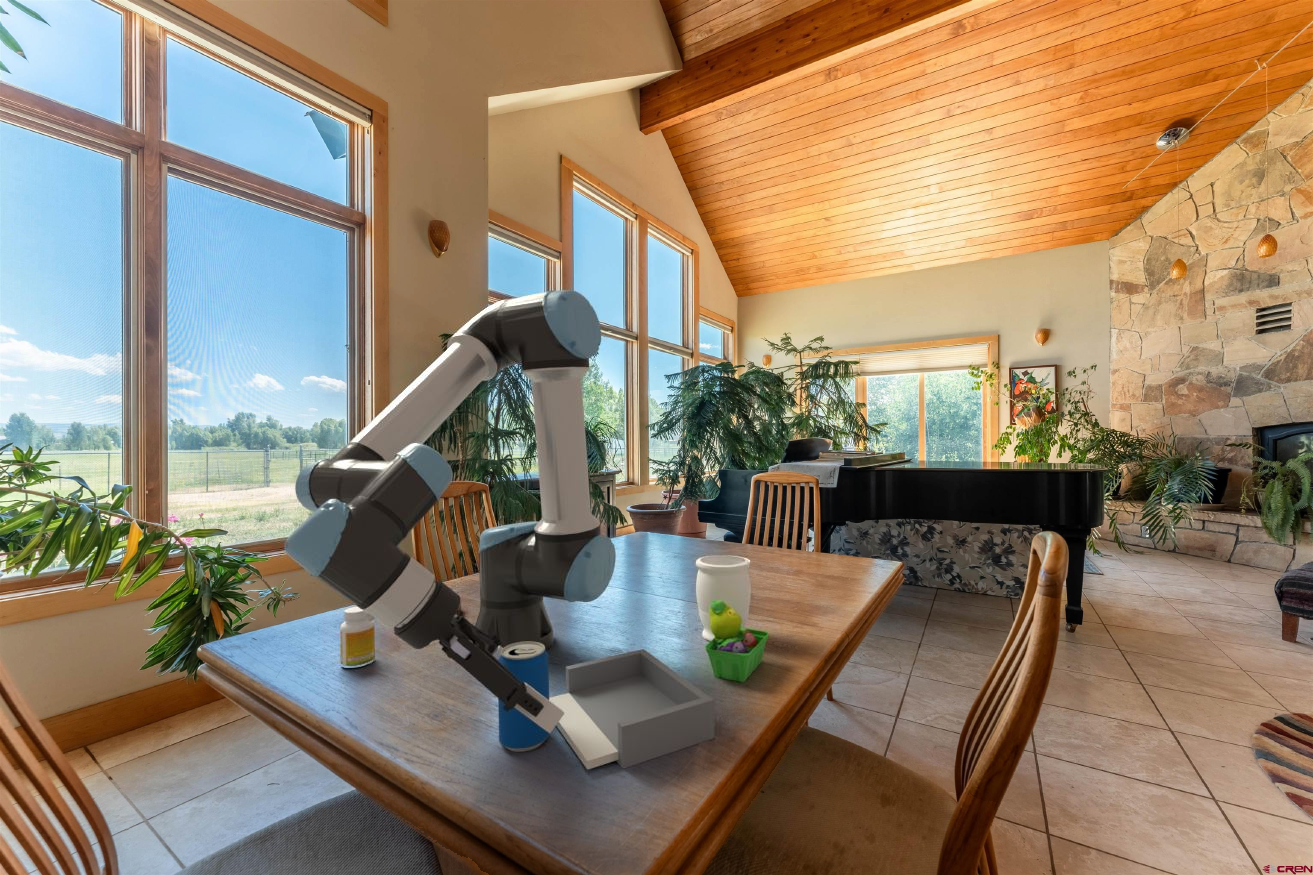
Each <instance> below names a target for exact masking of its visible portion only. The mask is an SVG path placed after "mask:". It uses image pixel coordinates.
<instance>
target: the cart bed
mask: <svg viewBox="0 0 1313 875" xmlns="http://www.w3.org/2000/svg"><path fill="white" fill-rule="evenodd" d="M549 701H550V702H552V703H553V704H554V705H556V706H557V707H558V708H560V709H561V710H562V711H563V712H564V713H565V714H564V715H563V716H562V718H561V719H560V720H559V722H558V723H557V724H556V726H555V727H557V729H558V730H559V731H560V733H561V735H563V737H564V739H565V740H566V741H567V743H568V744H569V746H570V747H571V749H572V750H573V752H575V754H576V755H577V757H578V759H579V760H580V761H581V763H582V764H583V765H584V767H585V769H586V770H591V769H594V768H597V767H600V766H603V765H605V764H609V763H611V762H612V763H613V762H615V761H616V762H617V763H618V766H620V768H622V770H624V769H626V768H630V767H632V766H636V765H639V764H641V763H644V762H648V761H650V760H653V759H656V758H659V757H663V756H666V755H669V754H672V753H675V752H677V751H681V750H683V749H686V748H689V747H693V746H695V745H698V744H701V743H703V742H707V741H710V740H712V739H715V700H714V698H712V697H711V696H709V695H708V694H706V693H705V692H704V691H703V690H701V689H699V688H698V687H697V686H695V685H694V684H693V683H691V682H690V681H688V680H687V679H686V678H684V677H683V676H681V675H680V674H679V673H677V672H676V671H674V670H673V669H671V667H669V666H667V664H665V663H663V661H661V660H659V659H658V658H657V657H655V656H654V655H652V654H651V653H650V652H648V651H647V650H646V649H645V648H642V649H638V650H633V651H629V652H624V653H619V654H616V655H612V656H607V657H601V658H598V659H594V660H590V661H589V660H588V661H586V662H585V661H583V662H580V663H575V664H572V665H567V666H565V693H563V694H560V695H555V696H550V697H549Z"/></svg>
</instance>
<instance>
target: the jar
mask: <svg viewBox="0 0 1313 875" xmlns="http://www.w3.org/2000/svg"><path fill="white" fill-rule="evenodd" d="M695 566H696V567H697V568H698V572H697V574H696V581H695V582H696V584H695V595H696V596H695V597H696V602H697V607H698V614H699V618H700V620H701V623H702V625H703V627H704V629H703V630H702V632H701V635H702V638H704V639H705V640H707V641H709V642H710V641H712V640H713V639H714V638H715V636H714V635H713V633H712V631H711V628H710V614H709V610H710V608H711V605H712V602H713V601H719V600H720V601H723V602H724V603H726V604H727V605H728V606H729V607H731V608H732V609H733V610H734V611H736V612H737V613H738V614H739V615H740V617H741V619H742V624H741V627H742V628H745V626H746V624H747V622H748V617H749V612H750V603H751V595H752V592H751V590H752V589H751V580H750V575H749V570H748V569H749V568H750V566H751V560H750V559H748V558H746V557H744V556H738V555H726V554H725V555H724V554H722V555H721V554H719V555H715V554H714V555H707V556H700V557H699V558H697V559H696V561H695Z"/></svg>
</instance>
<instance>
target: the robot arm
mask: <svg viewBox="0 0 1313 875" xmlns="http://www.w3.org/2000/svg"><path fill="white" fill-rule="evenodd" d="M601 344H602V330H601V324H600V320H599V318H598V314H597V313H596V311H595V308H594V307H593V306H592V304H591V303H590V301H589V300H588V299H587V298H586V297H585V296H584V295H583V294H582V293H581V292H578V291H576V290H572V289H561V290H548V291H545V292H539V293H535V294H534V293H533V294H529V295H524V296H520V297H519V296H518V297H510V298H504V299H501V300H499V301H497V302H494V303H492V304H491V305H489V306H488V307H486V308H484V309H482V311H480V312H479V313H478V314H476V315H475V316H474V317H472V318H471V319H470V320H468V321H467V323H465V324H464V325H463V326H462V327H461V328H459V330H457V332H456V331H455V333H454V334H453V335H452V336H451V337H450V338H449V339H448V341H447V344H446V348H447V349H446V350H445V351H444V352H443V353H442V354H441V355H439V357H438V358H437V359H436V360H435V361H434V362H433V363H432V364H430V365H429V366H428V367H427V368H426V369H425V370H424V371H423V372H421V374H420V375H419V376H418V377H416V379H415V380H413V382H411V383H410V384H409V385H408V386H407V387H406V388H405V389H404V390H403V391H402V392H401V393H400V394H399V395H398V396H396V397H395V398H394V400H392V401H391V402H390V403H389V404H388V405H386V407H385V408H384V409H383V410H381V412H380V413H378V414H377V415H376V416H375V417H374V418H373V419H372V420H371V421H370V422H368V424H367V425H366V426H365V427H363V428H362V429H361V431H359V432H358V433H357V434H356V435H355V436H354V437H353V438H352V439H351V440H350V441H349V442H348V443H347V444H346V445H344V446H343V447H342V448H341V449H340V450H339V451H338V452H337V453H336V454H335V455H333V457H331V458H324V459H321V460H316V461H314V462H311V463H310V464H307V465H306V466H304V468H302V469H301V470H300V472H299V474H298V475H297V478H296V481H295V485H294V486H295V487H294V490H295V495H296V498H297V500H298V502H299V503H300V504H301V506H302V507H303V508H305V509H306V510H308V511H310V512H312V514H311V515H309V517H308V518H306V519H305V520H304V521H303V522H302V523H301V524H300V525H298V527H297V528H296V529H295V530H294V531H293V532H291V534H290V535H289V536H288V538H286V540H285V542H284V551H285V553H286V554H287V555H288V556H289V557H290V559H292V560H293V561H294V562H295V563H296V564H298V565H299V566H300V567H302V568H303V569H304V570H305V571H307V572H308V573H309V574H310V576H311V577H312V578H316V579H317V580H319V581H320V582H322V583H323V584H324V585H326V586H327V587H329V588H330V589H332V590H334V591H335V593H338V594H339V595H341V596H342V597H343V598H345V599H346V600H347V601H350V602H351V603H352V604H354V605H355V607H356V606H357V607H359V608H360V609H362V610H363V611H364V612H366V613H367V615H366V616H365V619H366V621H368V622H370V621H372V620H373V621H374V619H376V620H377V622H378V623H380V624H381V625H383V626H384V627H385V628H386V629H390V630H391V629H392V628H393V631H394V635H395V636H397V638H399V639H401V640H402V641H404V642H405V643H406V644H408V645H409V646H410V647H412V648H413V649H415V650H421V649H424V648H426V647H427V646H429V645H430V643H432V642H434V641H438V643H439V645H440V646H441V650H442V652H444V654H445V655H446V656H447V657H448V659H451V660H453V661H454V663H457V664H458V665H459V666H461V667H462V668H463V669H464V670H465V671H467V673H469V674H470V675H471V676H472V677H473V678H475V680H477V681H478V682H479V684H481V685H482V686H483V687H484V688H486V689H487V690H488V691H489V692H490V693H492V694H493V695H494V696H495V697H496V698H497V700H498V699H500V700H501V701H502V702H503V703H504V704H505V706H504V707H503V709H504V710H505V711H507V712H508V711H509V710H510V709H513V708H516V709H517V710H519V711H520V712H521V713H523V714H524V715H525V716H527V717H528V718H529V719H531V720H532V721H534V722H535V723H536V724H538V725H539V726H540V727H542V728H543V729H545V730H546V731H547V732H549V733H550V734H551V732H552V731H553V730H554V728H555V727H557V726H556V724H557V723H558V722H559V720H560V719H561V718H562V716H563V715H564V714H565V713H564V712H563V711H562V710H561V709H560V708H558V707H557V706H556V705H554V704H553V703H552V702H550V701H549V700H548V699H546V698H545V697H544V696H543V695H541V694H540V693H539V692H537V691H536V690H535V689H533V688H532V687H531V686H529V685H528V684H527V683H523V682H521V681H520V680H519V679H518V678H517V677H516V676H514V675H513V674H512V673H511V672H510V671H509V670H508V669H507V668H506V667H505V666H504V665H503V664H502V663H500V662H499V661H498V659H499V657H500V656H501V650H502V649H503V648H504V647H506V646H508V645H510V644H514V643H518V642H527V641H531V642H539V643H541V644H543V645H544V646H545V651H547V650H549V648H551V646H553V644H554V630H553V626H552V623H551V620H550V617H549V614H548V611H547V609H546V605H545V603H544V602H545V601H544V598H551V599H555V600H562V601H567V602H569V603H575V602H580V603H589V602H590V603H591V602H593V601H595V600H597V599H598V598H599V597H600V596H601V595H603V593H604V592H605V591H606V590H607V588H608V586H609V584H610V582H611V580H612V578H613V576H614V571H615V566H616V561H617V560H616V559H617V554H616V552H617V551H616V548H615V544H614V543H613V540H612V539H611V538H610V537H608V536H606V535H604V534H601V533H602V532H601V522H600V519H598V518H597V517H596V516H594V515H593V513H592V511H591V497H590V494H591V493H590V483H589V471H588V470H589V468H588V467H589V466H588V465H589V464H588V453H587V452H588V450H587V441H586V440H587V439H586V437H587V436H586V424H585V410H584V409H585V408H584V397H583V396H584V395H583V393H584V392H583V378H584V376H585V375H586V374H587V373H588V372H589V370H590V359H592V357H594V356H595V355H596V354H598V352H599V350H600V347H601V346H600V345H601ZM514 365H515V366H516V365H521V373H522V374H523V375H524V376H525V377H526V378H527V379H528V380H529V381H530V382H531V386H532V388H531V389H532V401H533V415H534V426H535V427H534V428H535V439H536V452H537V454H536V455H537V465H538V466H537V467H538V479H539V480H538V482H539V494H540V495H539V496H540V506H541V519H540V520H539V521H537V520H536V521H524V522H518V523H510V524H505V525H500V526H493V527H489V528H487V529H485V530H483V531H482V532H481V534H480V537H479V550H478V551H477V552H478V569H479V570H478V571H479V572H478V573H479V593H480V595H479V598H480V609H479V612H478V615H477V618H476V622H475V625H474V624H472V623H471V622H470V621H469V620H468V619H467V618H465V616H462V615H461V616H460V614H459V615H457V614H456V613H457V611H458V609H459V606H460V602H461V597H460V595H459V593H457V592H456V591H454V590H453V589H452V588H450V587H449V586H448V585H447V584H445V583H444V582H443V581H442V580H435V579H436V578H435V574H433V573H432V572H431V571H430V570H429V569H427V568H426V567H425V566H423V565H422V564H421V563H420V562H418V561H417V560H416V559H415V558H414V557H412V556H410V555H409V554H408V553H406V552H405V551H403V550H402V549H401V547H399V546H400V544H401V543H402V542H403V541H404V540H405V539H406V537H407V536H408V535H409V533H411V531H413V529H414V528H415V527H416V526H417V525H418V523H420V521H421V520H422V519H423V518H424V517H425V516H426V515H427V513H429V511H430V510H431V509H432V508H433V507H434V506H435V504H436V503H437V502H439V501H440V500H441V496H442V495H443V494H444V492H445V491H446V490H447V489H448V487H449V486H450V485H451V483H452V482H453V477H454V475H453V470H452V467H451V465H450V464H449V463H448V461H447V460H446V458H445V457H444V456H443V455H442V454H441V453H440V452H438V451H437V450H436V449H433V447H431V446H428V445H426V444H425V442H426V441H427V440H428V439H429V438H430V437H431V436H432V434H433V433H434V432H435V431H436V430H437V429H438V428H439V427H440V426H441V425H442V424H443V423H444V421H445V420H447V418H449V416H450V415H451V414H452V413H453V412H454V411H455V410H456V409H457V408H458V407H459V406H460V405H461V404H462V402H463V401H464V400H465V399H466V398H467V397H468V396H469V395H470V394H471V393H472V392H473V391H474V389H476V388H477V386H478V385H479V384H480V383H481V382H482V381H483V382H484V381H489V380H491V379H493V378H494V377H495V376H496V375H497V374H498V373H499V372H500V371H502V370H503V369H506V368H507V367H511V366H514Z"/></svg>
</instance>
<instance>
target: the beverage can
mask: <svg viewBox="0 0 1313 875" xmlns="http://www.w3.org/2000/svg"><path fill="white" fill-rule="evenodd" d="M549 660H550V659H549V654H548V651H547V650H545V646H544V645H543V644H541V643H539V642H531V641H527V642H518V643H514V644H510V645H508V646H506V647H504V648H503V649H502V650H501V656H500V657H499V659H498V661H499V662H500V663H502V664H503V665H504V666H505V667H506V668H507V669H508V670H509V671H510V672H511V673H512V674H513V675H514V676H516V677H517V678H518V679H519V680H520V681H521V682H523V683H527V684H528V685H529V686H531V687H532V688H533V689H535V690H536V691H537V692H539V693H540V694H541V695H543V696H544V697H545V698H546V699H548V700H549V698H550V672H549V671H550V668H549V664H550V663H549ZM497 700H498V702H497V703H498V706H497V707H498V740H499V744H501V745H502V746H503V747H504V748H506V749H508V750H510V751H512V752H516V753H517V752H521V753H522V752H528V751H532V750H535V749H536V748H538V747H540V746H542V744H543V743H544V741H546V740H547V739H549V738H548V737H549V736H550V734H551V732H550V733H549V732H547V731H546V730H545V729H543V728H542V727H540V726H539V725H538V724H536V723H535V722H534V721H532V720H531V719H529V718H528V717H527V716H525V715H524V714H523V713H521V712H520V711H519V710H517V709H516V708H513V709H510V710H509V711H508V712H507V711H505V710H504V709H503V707H504V706H505V704H504V703H503V702H502V701H501V700H500V699H498V698H497Z"/></svg>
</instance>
